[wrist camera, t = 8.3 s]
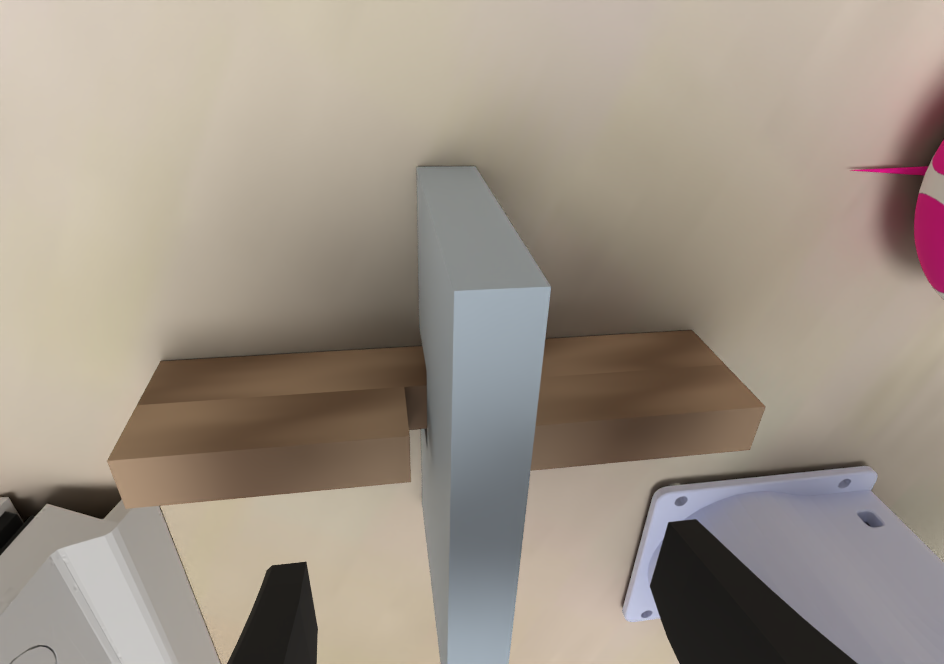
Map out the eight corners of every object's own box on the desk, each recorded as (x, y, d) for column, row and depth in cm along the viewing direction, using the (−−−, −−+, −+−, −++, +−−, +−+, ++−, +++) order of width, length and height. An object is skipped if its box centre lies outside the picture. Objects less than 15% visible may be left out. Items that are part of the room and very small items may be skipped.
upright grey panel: (475, 166, 15) (550, 286, 9) (463, 500, 21) (504, 703, 15) (416, 166, 15) (453, 291, 9) (422, 504, 21) (446, 712, 15)
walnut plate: (692, 330, 19) (765, 407, 15) (682, 368, 19) (749, 449, 16) (160, 361, 16) (106, 460, 13) (172, 404, 17) (125, 508, 14)
